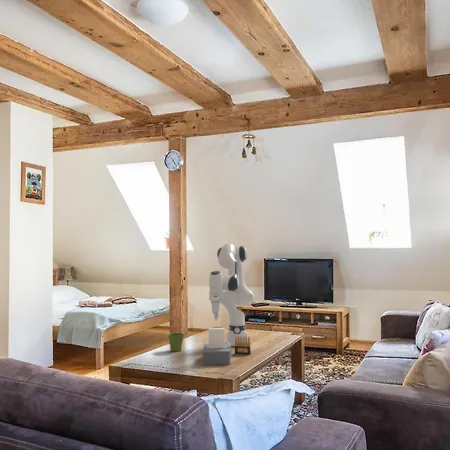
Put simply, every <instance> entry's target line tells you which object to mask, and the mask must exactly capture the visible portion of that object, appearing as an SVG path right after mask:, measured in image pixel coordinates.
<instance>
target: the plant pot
mask: <svg viewBox="0 0 450 450" xmlns="http://www.w3.org/2000/svg"><path fill="white" fill-rule="evenodd" d="M184 336H185V333H183V332H171V333H167V337H168V341H169V342H168V343H169V348H170V351H171V352H180V351H182V347H183V341H184Z"/></svg>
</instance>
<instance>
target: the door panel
mask: <svg viewBox="0 0 450 450" xmlns="http://www.w3.org/2000/svg"><path fill="white" fill-rule="evenodd" d="M225 342H226V328H224V327H217V328H216V327H215V328H214V327H211V328H210V327H209V328H208V344H209V348H225Z"/></svg>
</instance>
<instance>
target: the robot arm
mask: <svg viewBox="0 0 450 450" xmlns="http://www.w3.org/2000/svg"><path fill="white" fill-rule="evenodd" d="M216 252H217V253H216V255H217V261H218V264H219V266H220V267H222V269H225V270H228V271H227V272H228V275H223V273H222V271H220V270H214V271H211V272H210V273H209V276H208V277H209V279H208V287H209V292H208V294H209V297H208V298H209V301H210V303H211V304H210V305H211V312H212V314H213V317H214V321H218V318H219V313H220V310H221V305H222V306H223V307H224V308H225V309H226V311H227V313H228V319H229V320H228V321H229V325H228V331H227V333H226V340H225V344H228V343H230V344H231V347H235V337H236V336H237V342H238V336H239V339H240V337H241V336H242V345H243V336H244V338H246V336H247V342H248V337H249V335H248V331H247V330H246V329H247V328H246V322H245V318H246V315H245V313H244V312H243V311H242V310H240V309H238V308H237V307H239V306H249V305H252V304H253V303H254V302H255V295H254V292H253V291H252V290H250V289H249V287H248V286H247V285H246V282H245V276H244V265H243V263H244V261H246V260H247V258H248V254H249V253H248V249H247V247H245V246H244V245H240V246H239V245H233V244H232V243H225V244H224V245H223V246H222V247H219V248H218V250H217V251H216ZM237 346H238V343H237Z"/></svg>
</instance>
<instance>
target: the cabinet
mask: <svg viewBox="0 0 450 450" xmlns="http://www.w3.org/2000/svg"><path fill="white" fill-rule="evenodd" d="M201 356H202V357H201V358H202V359H201V360H202V361H201V365H231V360H232V346H231V344H230V343H228V344H225V348H209V343H208V344H207V342H203V348H202V350H201Z"/></svg>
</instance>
